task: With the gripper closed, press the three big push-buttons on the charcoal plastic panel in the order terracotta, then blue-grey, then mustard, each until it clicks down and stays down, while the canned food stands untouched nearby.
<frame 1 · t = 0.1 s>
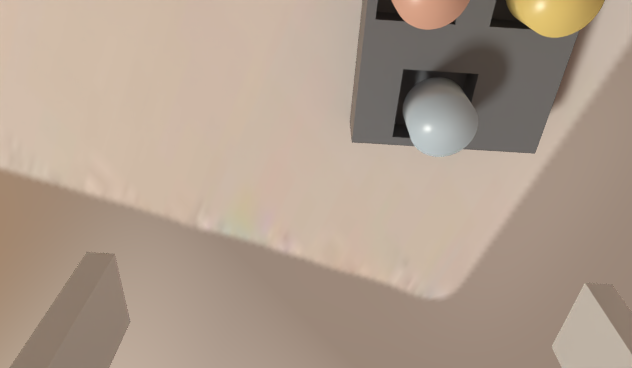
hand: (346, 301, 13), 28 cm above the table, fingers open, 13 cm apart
button panel: (453, 35, 36), on the table
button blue: (438, 116, 34), point 6 cm above the table, slide at 0.0 cm
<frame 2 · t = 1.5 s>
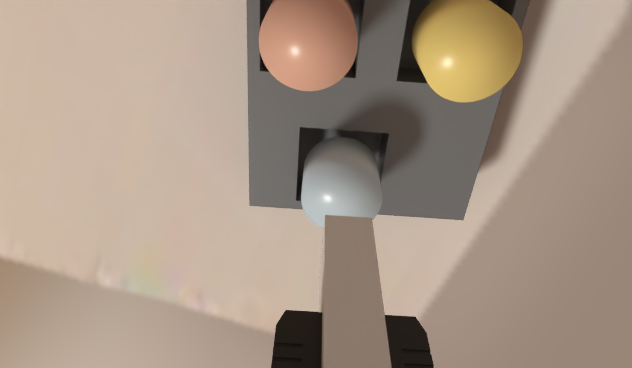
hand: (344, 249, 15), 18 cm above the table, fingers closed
button mustard: (463, 45, 24), point 6 cm above the table, slide at 0.0 cm
button panel: (367, 83, 31), on the table
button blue: (340, 183, 29), point 6 cm above the table, slide at 0.0 cm
button terracotta: (309, 34, 24), point 6 cm above the table, slide at 0.0 cm
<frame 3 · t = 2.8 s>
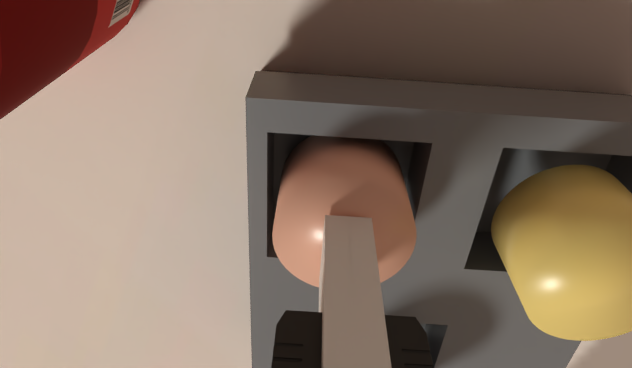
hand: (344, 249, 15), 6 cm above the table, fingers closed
button mustard: (579, 251, 16), point 6 cm above the table, slide at 0.0 cm
button panel: (412, 236, 23), on the table
button terracotta: (342, 208, 17), point 4 cm above the table, slide at 1.6 cm, touching gripper
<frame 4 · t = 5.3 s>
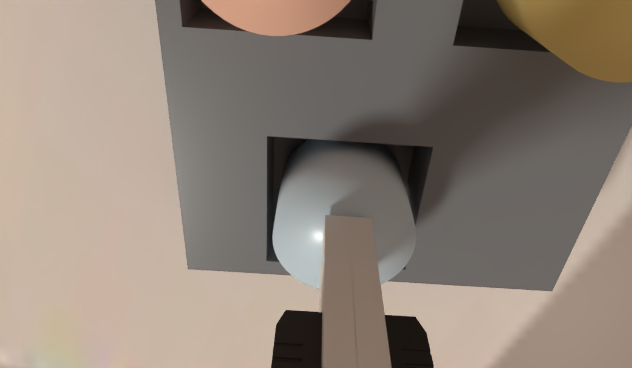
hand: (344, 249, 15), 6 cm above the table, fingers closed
button panel: (389, 57, 18), on the table
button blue: (342, 210, 17), point 4 cm above the table, slide at 1.8 cm, touching gripper
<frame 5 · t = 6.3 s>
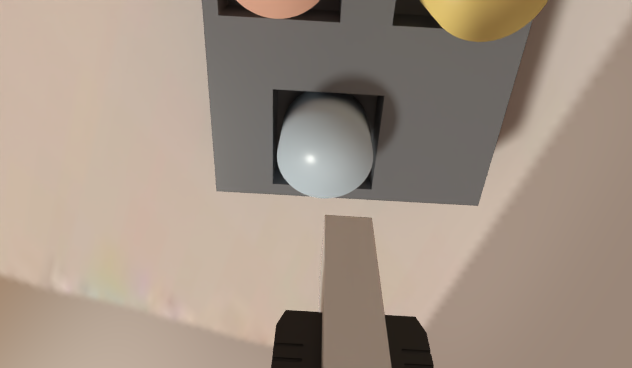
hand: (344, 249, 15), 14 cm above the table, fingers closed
button panel: (357, 38, 25), on the table
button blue: (325, 142, 24), point 4 cm above the table, slide at 1.8 cm
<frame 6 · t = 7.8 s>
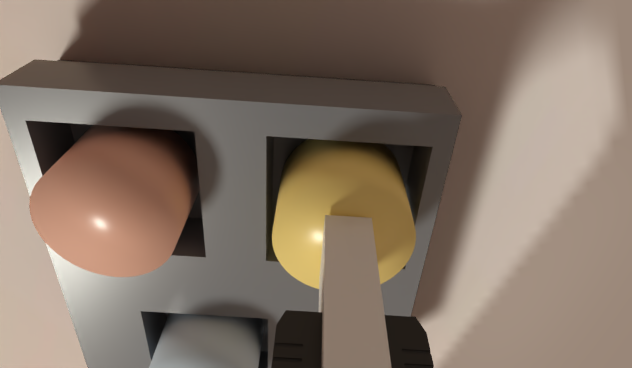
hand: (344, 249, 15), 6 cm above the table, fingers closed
button mustard: (342, 210, 17), point 4 cm above the table, slide at 1.8 cm, touching gripper
button panel: (250, 229, 23), on the table
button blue: (208, 355, 22), point 4 cm above the table, slide at 1.8 cm
button terracotta: (124, 195, 17), point 4 cm above the table, slide at 1.9 cm
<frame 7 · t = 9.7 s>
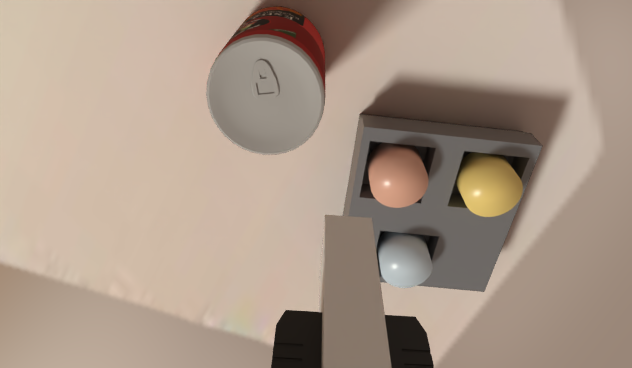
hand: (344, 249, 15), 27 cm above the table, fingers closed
canned food: (280, 53, 39), on the table
button mustard: (487, 182, 40), point 4 cm above the table, slide at 1.9 cm
button panel: (422, 197, 46), on the table
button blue: (403, 256, 44), point 4 cm above the table, slide at 1.8 cm
button terracotta: (396, 173, 40), point 4 cm above the table, slide at 1.9 cm
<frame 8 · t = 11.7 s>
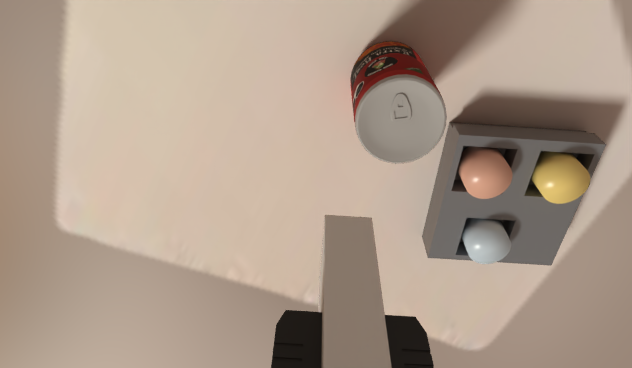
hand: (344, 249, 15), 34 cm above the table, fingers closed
canned food: (386, 77, 48), on the table
button mustard: (558, 175, 49), point 4 cm above the table, slide at 1.9 cm
button panel: (497, 188, 54), on the table
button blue: (484, 238, 53), point 4 cm above the table, slide at 1.8 cm
button terracotta: (483, 170, 49), point 4 cm above the table, slide at 1.9 cm
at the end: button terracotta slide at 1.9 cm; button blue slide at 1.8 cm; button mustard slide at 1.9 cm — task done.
